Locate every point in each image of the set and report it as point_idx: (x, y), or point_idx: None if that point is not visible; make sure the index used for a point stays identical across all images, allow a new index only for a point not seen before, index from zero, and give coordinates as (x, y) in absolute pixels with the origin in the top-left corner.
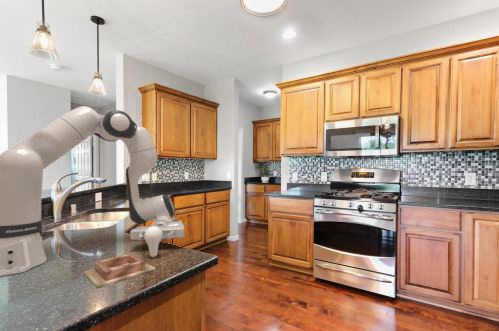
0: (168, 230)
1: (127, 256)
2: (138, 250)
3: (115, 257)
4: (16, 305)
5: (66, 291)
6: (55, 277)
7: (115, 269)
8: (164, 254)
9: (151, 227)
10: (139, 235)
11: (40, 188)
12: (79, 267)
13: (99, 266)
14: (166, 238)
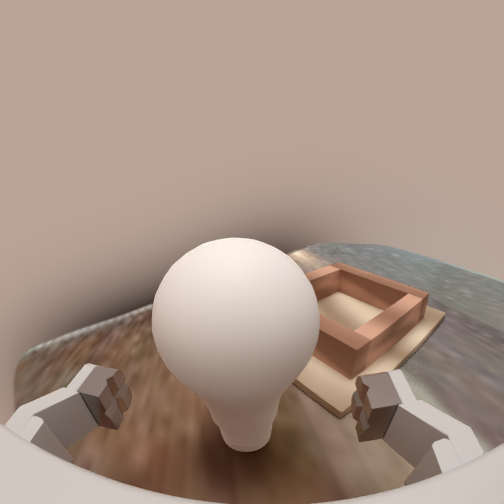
0: (43, 450)
1: (356, 332)
2: None
3: (395, 317)
4: (423, 259)
5: (393, 275)
6: (482, 304)
7: (324, 267)
8: (177, 467)
9: (247, 239)
10: (401, 372)
11: None
12: (499, 342)
13: (385, 278)
14: (126, 391)
